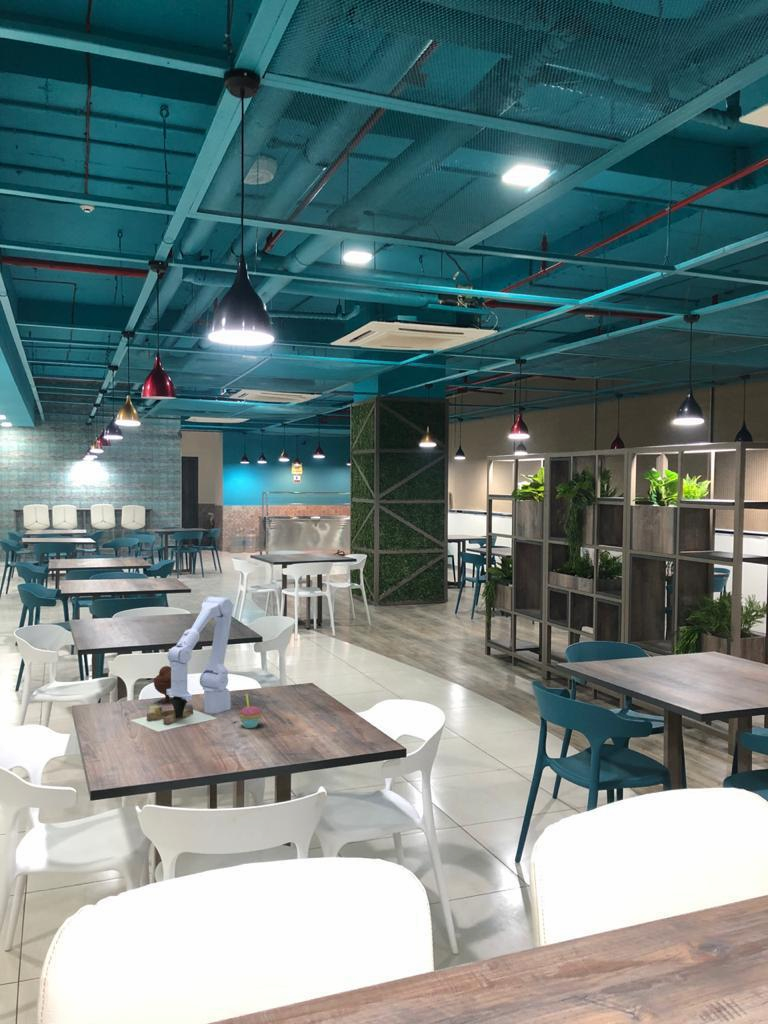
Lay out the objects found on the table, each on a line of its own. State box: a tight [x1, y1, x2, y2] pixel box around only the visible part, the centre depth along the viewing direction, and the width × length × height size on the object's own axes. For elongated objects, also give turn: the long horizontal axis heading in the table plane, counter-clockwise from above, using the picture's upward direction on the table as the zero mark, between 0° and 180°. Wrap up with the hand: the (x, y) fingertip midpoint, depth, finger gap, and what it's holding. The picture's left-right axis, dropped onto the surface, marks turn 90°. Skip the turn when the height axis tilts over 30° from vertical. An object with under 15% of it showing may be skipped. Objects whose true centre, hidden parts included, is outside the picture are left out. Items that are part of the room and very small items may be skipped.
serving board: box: [130, 709, 218, 732], centre depth 296 cm, size 24×20×1 cm
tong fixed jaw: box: [146, 704, 194, 722], centre depth 299 cm, size 18×4×3 cm, turn 134°
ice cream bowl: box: [153, 665, 172, 704], centre depth 321 cm, size 11×11×15 cm
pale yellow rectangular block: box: [148, 704, 163, 714], centre depth 296 cm, size 3×4×2 cm
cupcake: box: [237, 692, 264, 729], centre depth 291 cm, size 9×8×12 cm
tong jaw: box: [163, 708, 191, 725], centre depth 295 cm, size 14×2×2 cm, turn 159°
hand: (179, 717), depth 293 cm, fingers closed, pressing on tong jaw
